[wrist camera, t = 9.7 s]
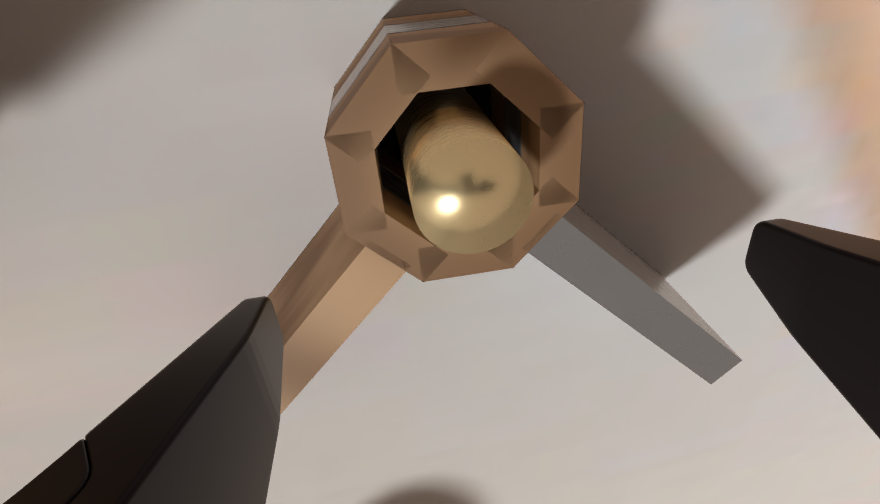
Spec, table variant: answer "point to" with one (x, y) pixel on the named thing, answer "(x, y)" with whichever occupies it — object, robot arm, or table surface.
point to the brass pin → (461, 173)
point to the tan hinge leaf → (383, 214)
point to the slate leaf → (594, 255)
